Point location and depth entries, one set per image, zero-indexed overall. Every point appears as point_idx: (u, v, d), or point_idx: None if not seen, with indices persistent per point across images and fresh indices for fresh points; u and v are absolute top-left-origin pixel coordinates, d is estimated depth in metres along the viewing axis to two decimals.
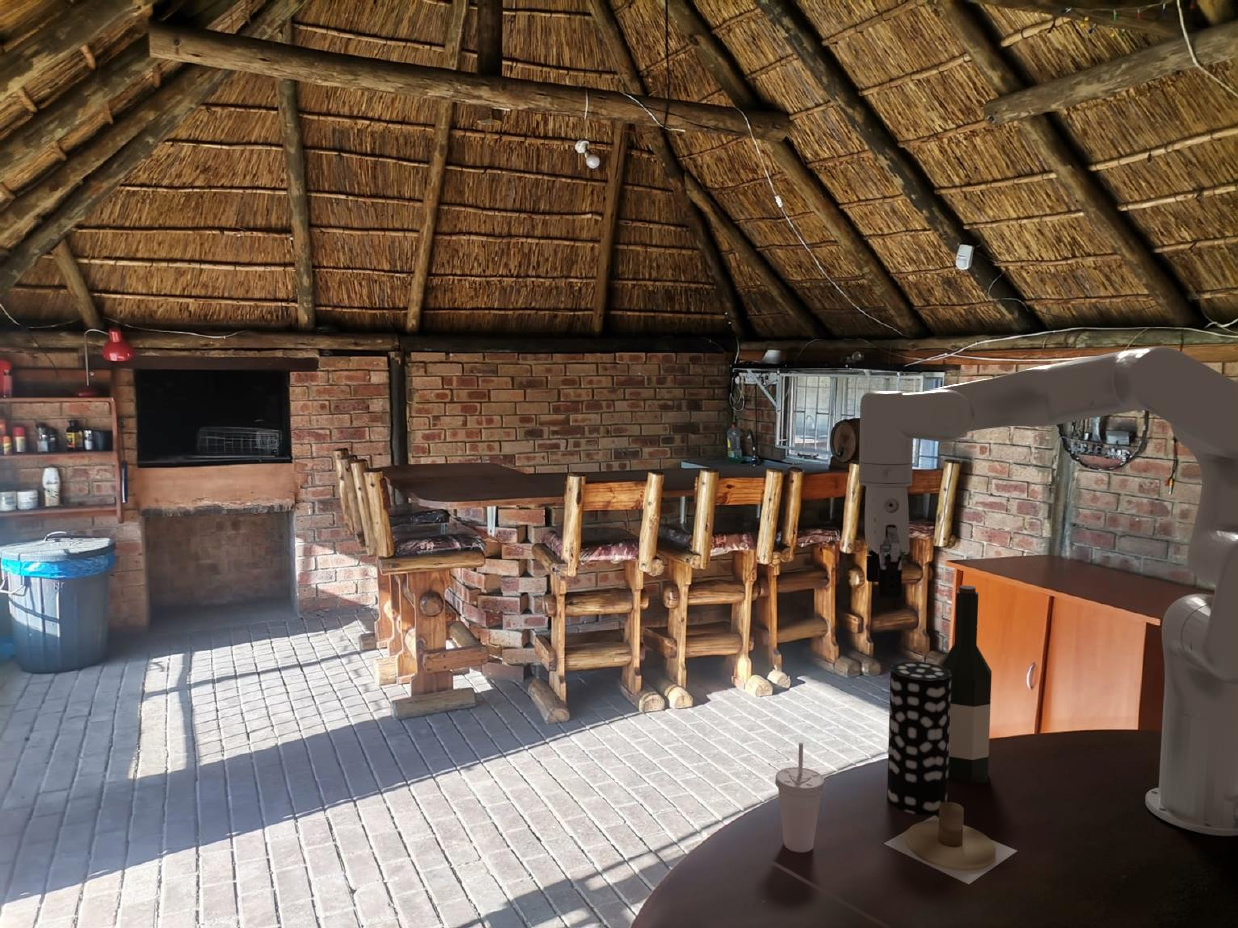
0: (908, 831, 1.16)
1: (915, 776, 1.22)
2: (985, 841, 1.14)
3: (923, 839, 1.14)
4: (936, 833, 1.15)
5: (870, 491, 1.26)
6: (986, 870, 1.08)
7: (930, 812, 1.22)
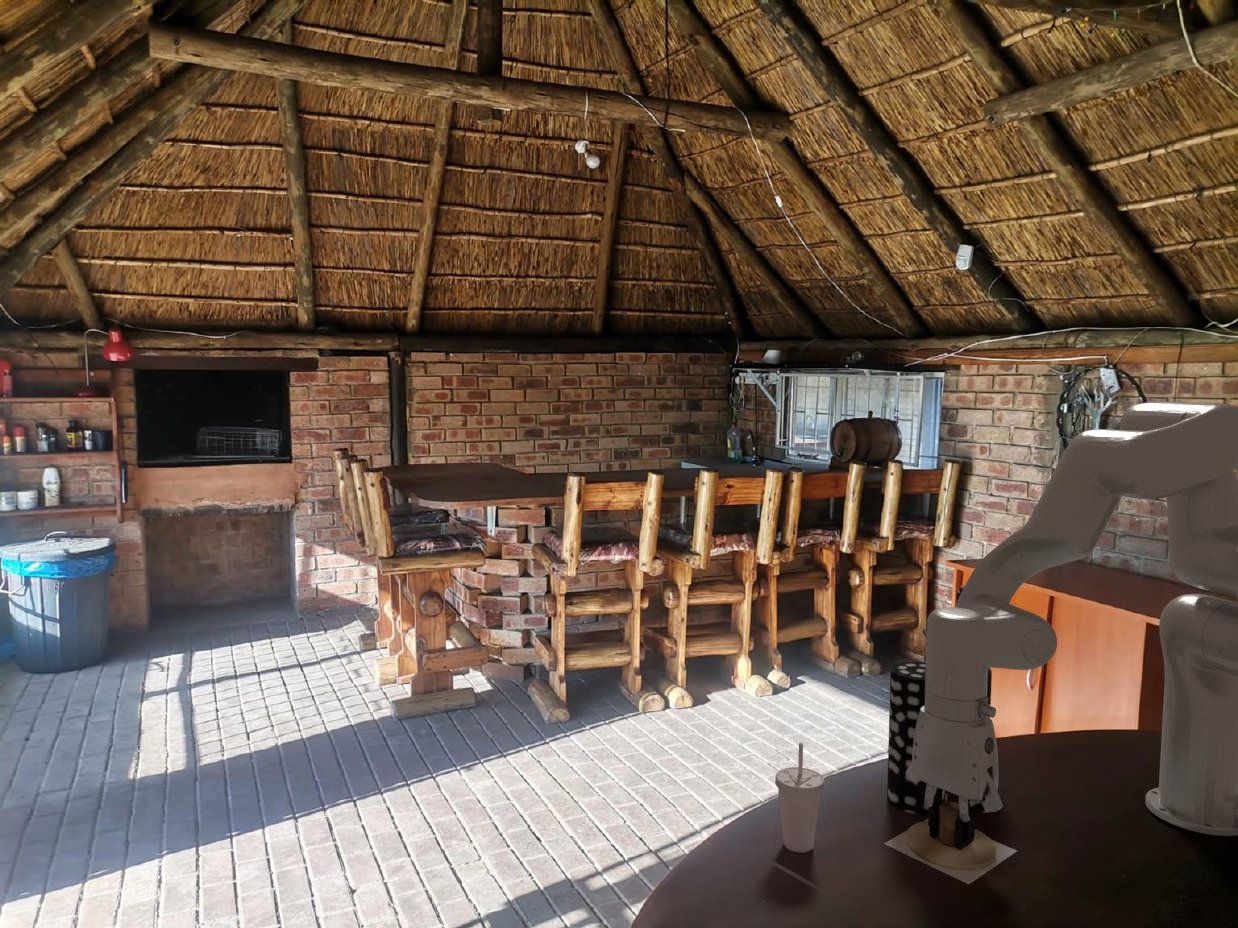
0: (908, 831, 1.16)
1: None
2: (985, 840, 1.14)
3: (923, 839, 1.14)
4: None
5: (957, 730, 1.09)
6: (986, 870, 1.08)
7: None
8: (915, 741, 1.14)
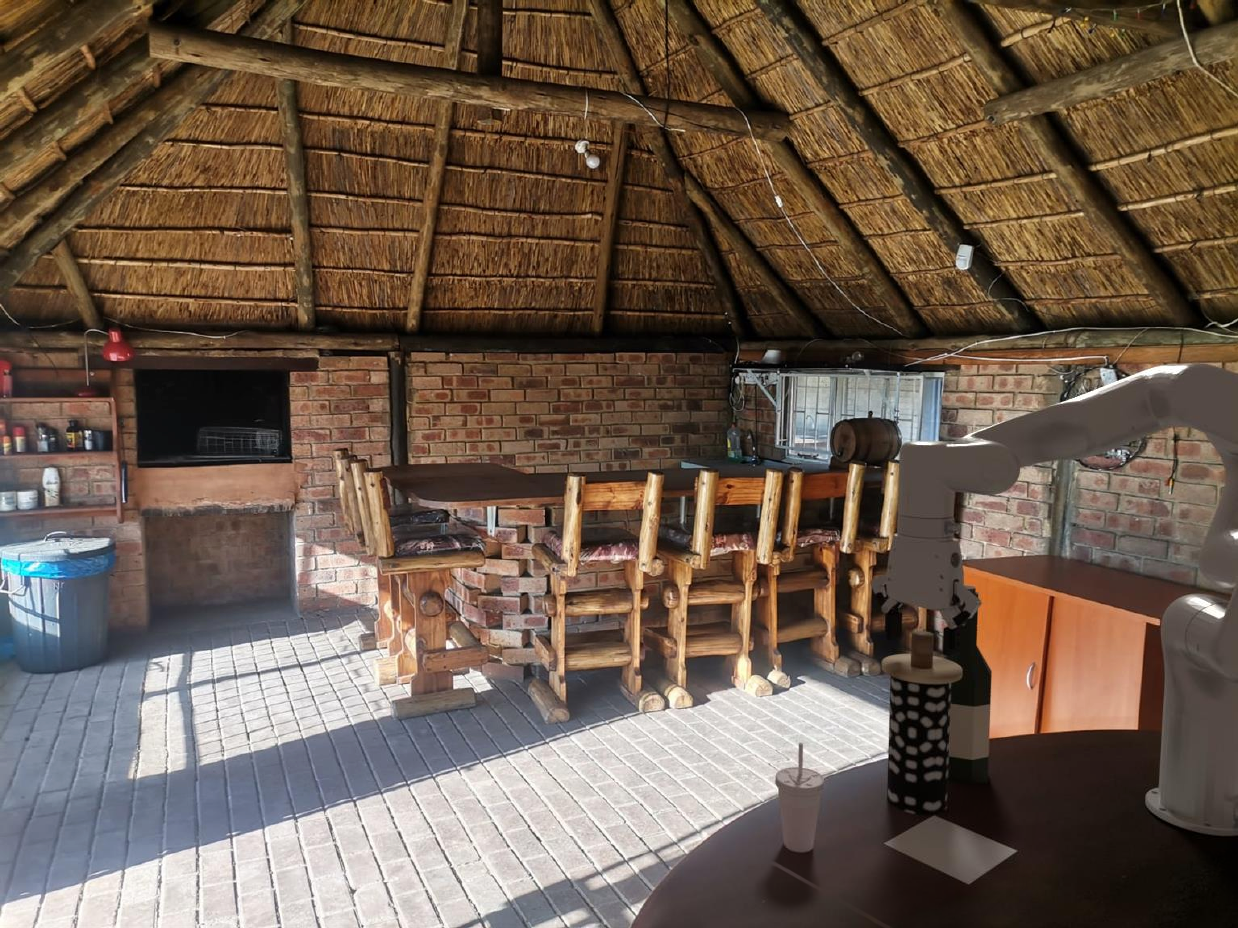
0: (883, 660, 1.27)
1: (915, 776, 1.22)
2: (953, 665, 1.25)
3: (897, 664, 1.25)
4: (909, 661, 1.26)
5: (926, 547, 1.20)
6: (986, 870, 1.08)
7: (930, 812, 1.22)
8: (889, 565, 1.25)
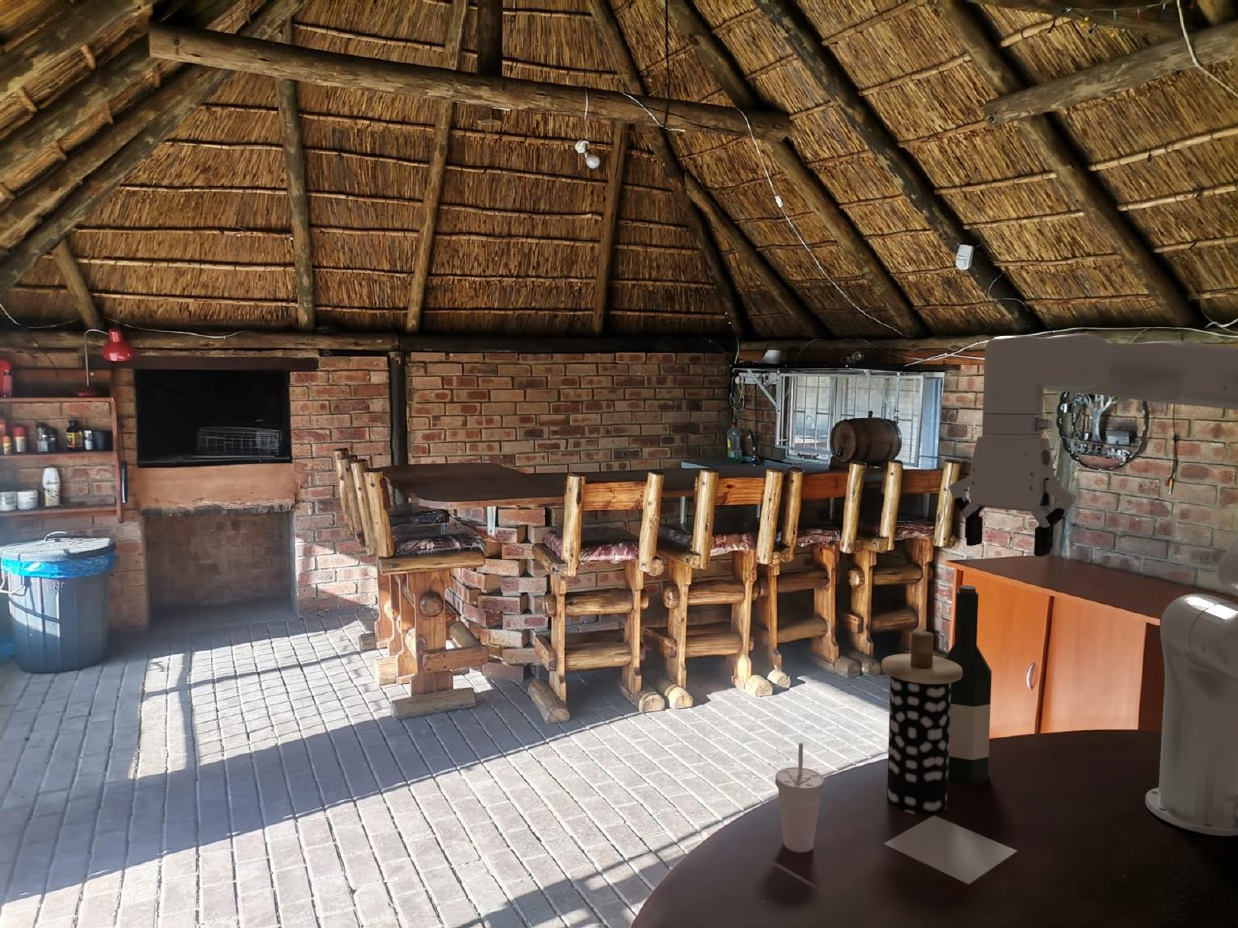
0: (883, 660, 1.27)
1: (915, 776, 1.22)
2: (953, 665, 1.25)
3: (897, 664, 1.25)
4: (909, 661, 1.26)
5: (1015, 444, 1.15)
6: (986, 870, 1.08)
7: (930, 812, 1.22)
8: (972, 467, 1.21)
